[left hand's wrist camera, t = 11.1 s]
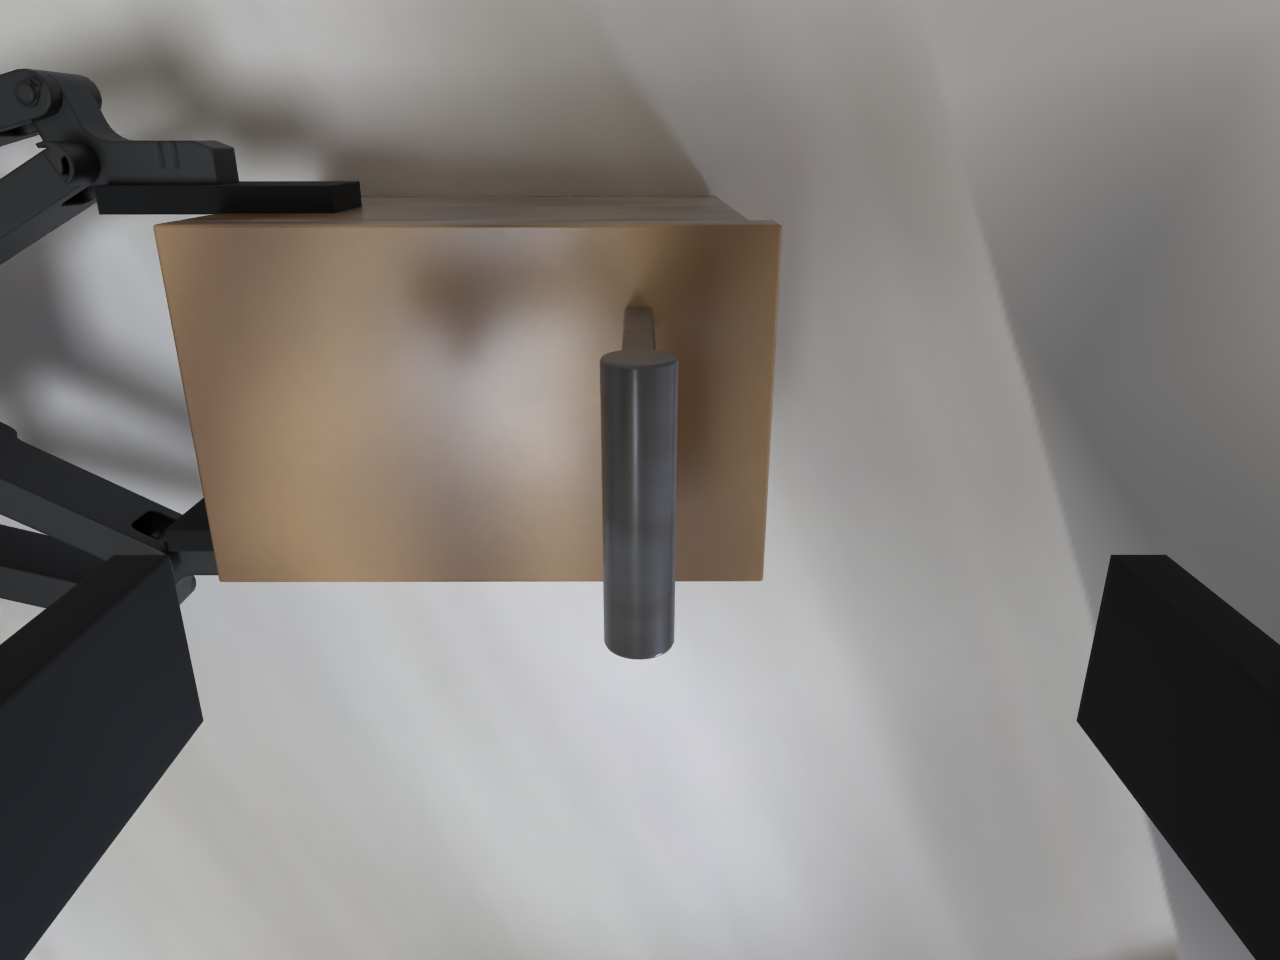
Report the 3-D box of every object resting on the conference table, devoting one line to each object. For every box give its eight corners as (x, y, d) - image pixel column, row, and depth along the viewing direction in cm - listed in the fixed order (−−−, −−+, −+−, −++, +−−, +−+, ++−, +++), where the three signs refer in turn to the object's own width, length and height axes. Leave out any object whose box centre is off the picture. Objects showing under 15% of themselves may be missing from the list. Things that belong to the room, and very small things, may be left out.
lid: (775, 220, 23) (844, 260, 15) (757, 563, 26) (806, 735, 18) (174, 220, 23) (-57, 261, 15) (235, 564, 26) (72, 737, 18)
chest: (716, 195, 32) (750, 220, 23) (709, 447, 36) (735, 563, 26) (316, 196, 32) (175, 220, 23) (346, 447, 36) (236, 564, 26)
